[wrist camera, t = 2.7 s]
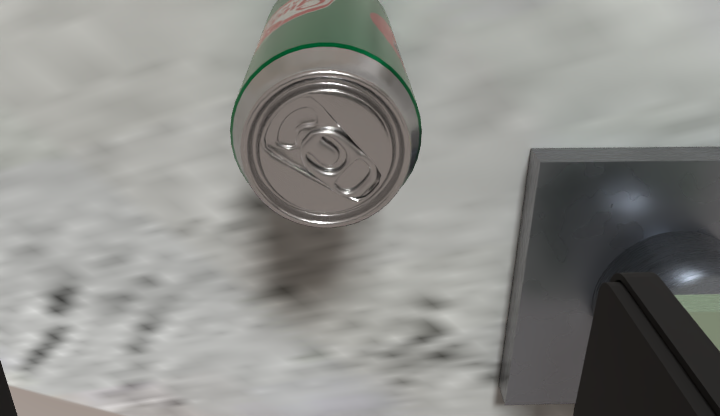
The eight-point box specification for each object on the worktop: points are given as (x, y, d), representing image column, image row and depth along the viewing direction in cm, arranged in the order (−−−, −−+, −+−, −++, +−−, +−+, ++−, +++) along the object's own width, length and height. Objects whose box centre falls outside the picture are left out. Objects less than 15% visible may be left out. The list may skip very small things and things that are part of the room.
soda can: (321, -56, 26) (313, 8, 15) (415, 31, 27) (468, 144, 17) (241, 43, 27) (183, 164, 17) (335, 120, 29) (336, 273, 18)
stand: (531, 148, 30) (608, 263, 22) (835, 145, 30) (1026, 257, 22) (498, 385, 36) (548, 543, 28) (749, 379, 37) (871, 534, 29)
